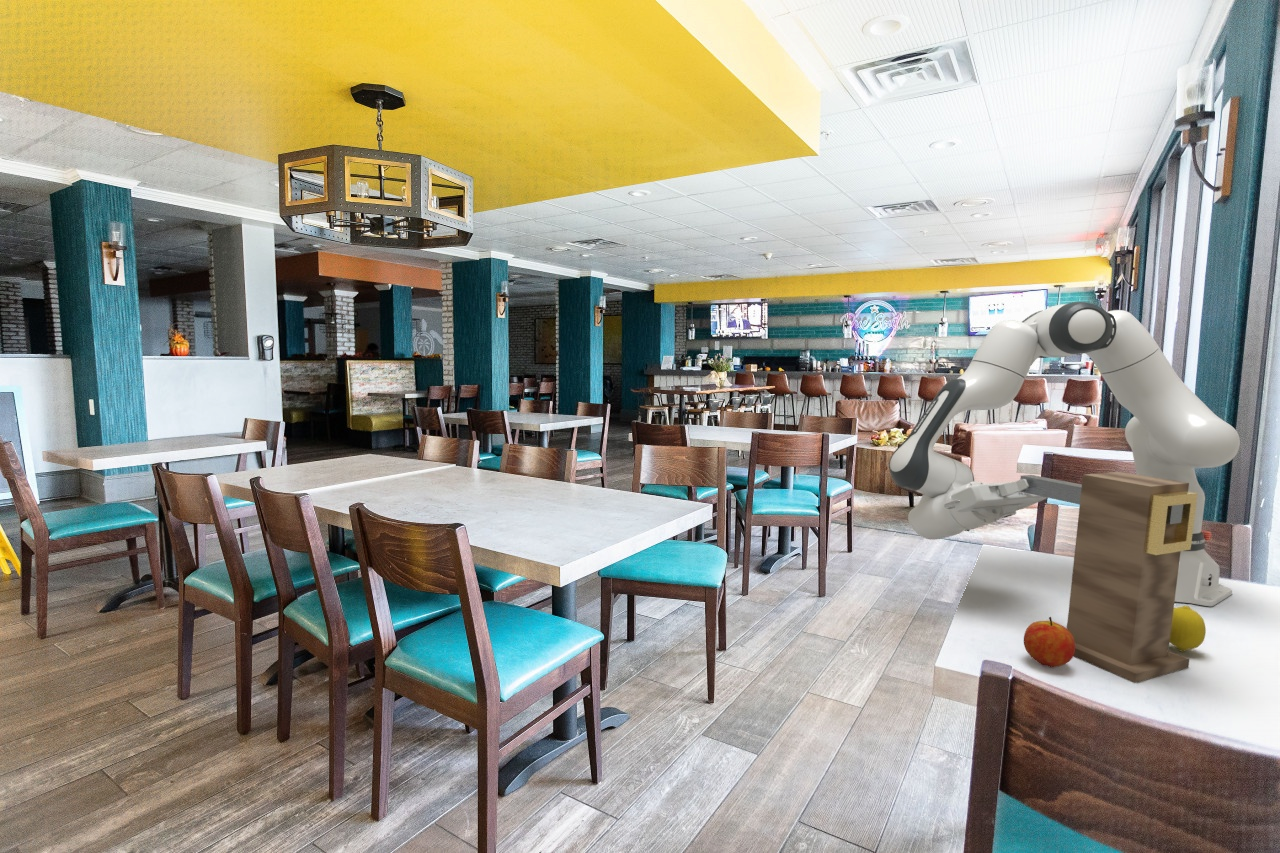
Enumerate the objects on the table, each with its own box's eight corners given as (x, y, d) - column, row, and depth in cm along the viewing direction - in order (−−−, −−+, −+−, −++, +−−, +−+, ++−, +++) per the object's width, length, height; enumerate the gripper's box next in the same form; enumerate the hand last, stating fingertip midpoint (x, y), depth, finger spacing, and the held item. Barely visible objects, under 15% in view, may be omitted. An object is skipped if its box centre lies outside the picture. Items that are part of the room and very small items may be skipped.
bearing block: (1097, 632, 115) (1115, 469, 112) (1188, 667, 102) (1211, 484, 99) (1045, 644, 110) (1062, 473, 106) (1135, 683, 97) (1158, 490, 93)
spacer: (1179, 546, 101) (1186, 491, 100) (1190, 549, 100) (1197, 493, 99) (1145, 552, 97) (1151, 494, 96) (1156, 555, 96) (1163, 496, 95)
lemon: (1210, 660, 105) (1216, 614, 104) (1172, 656, 106) (1178, 610, 105) (1189, 645, 110) (1194, 601, 110) (1153, 642, 112) (1158, 598, 111)
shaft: (1030, 490, 120) (1031, 474, 120) (1181, 522, 98) (1183, 503, 98) (1019, 491, 119) (1020, 475, 119) (1169, 524, 97) (1172, 505, 97)
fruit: (1043, 652, 107) (1047, 606, 106) (1083, 671, 100) (1088, 623, 99) (1011, 657, 104) (1016, 610, 104) (1050, 677, 98) (1055, 628, 97)
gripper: (933, 492, 126) (990, 468, 115) (1004, 486, 135) (1064, 464, 123) (944, 523, 124) (1004, 502, 112) (1015, 515, 132) (1078, 495, 121)
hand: (1036, 482), depth 118 cm, fingers closed on shaft, 3 cm apart
